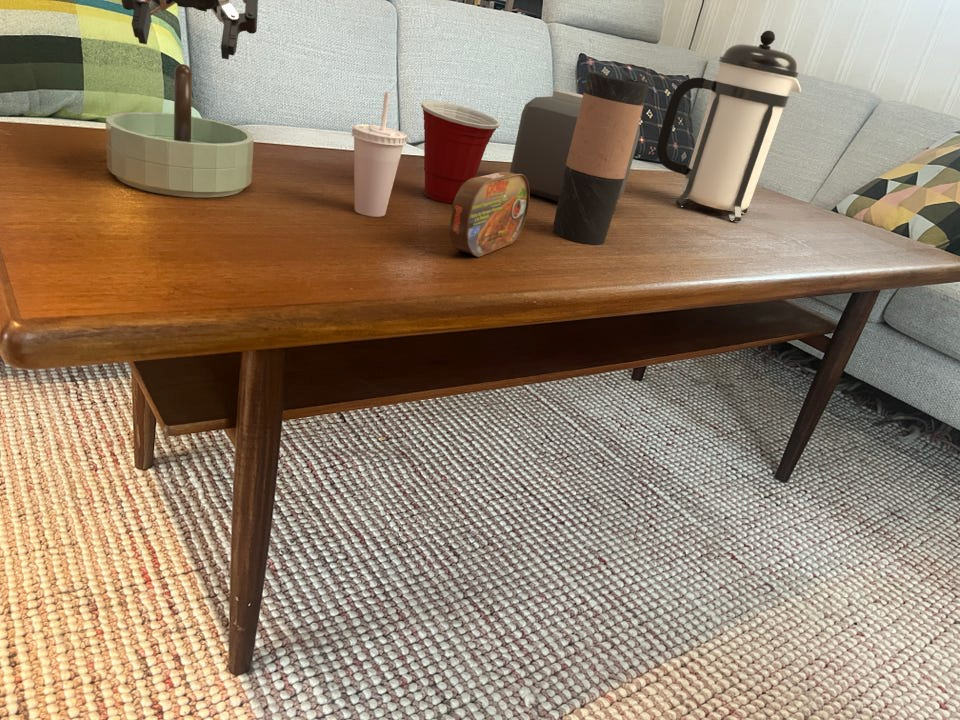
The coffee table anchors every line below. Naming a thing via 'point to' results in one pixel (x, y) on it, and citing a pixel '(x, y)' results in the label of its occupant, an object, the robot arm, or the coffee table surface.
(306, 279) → the coffee table surface
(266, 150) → the coffee table surface
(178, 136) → the wooden handle stamp
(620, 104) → the travel mug
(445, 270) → the coffee table surface
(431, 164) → the plastic cup
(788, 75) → the coffee press
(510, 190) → the tin
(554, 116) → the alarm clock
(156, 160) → the bowl
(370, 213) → the smoothie
